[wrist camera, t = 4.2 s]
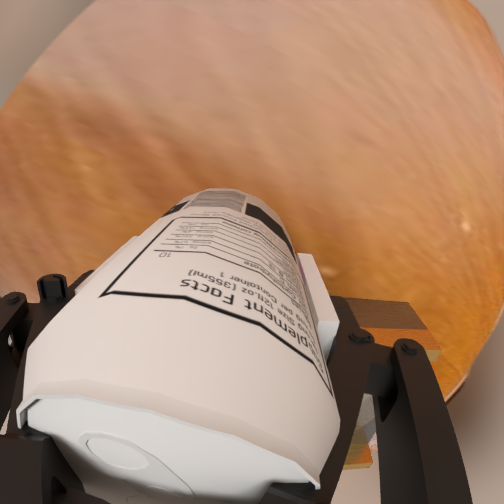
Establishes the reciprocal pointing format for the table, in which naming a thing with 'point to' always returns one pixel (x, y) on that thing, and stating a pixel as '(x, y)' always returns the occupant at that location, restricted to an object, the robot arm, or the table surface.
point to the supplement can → (188, 364)
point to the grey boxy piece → (385, 333)
